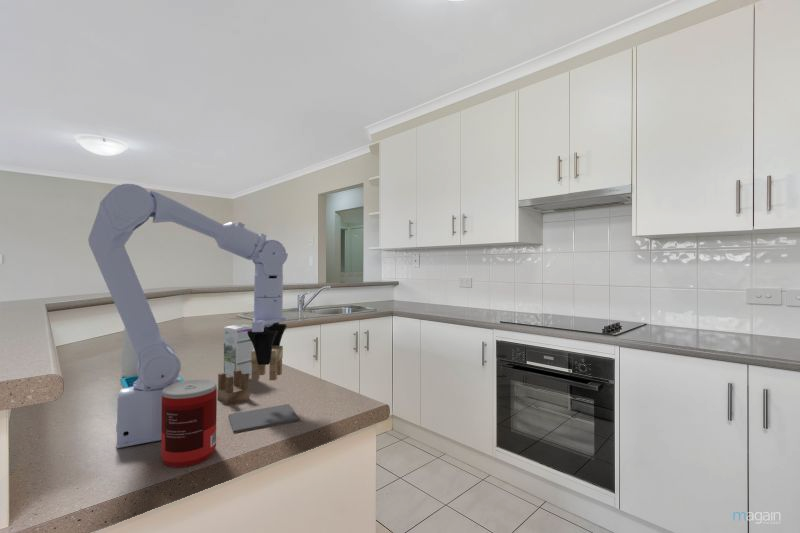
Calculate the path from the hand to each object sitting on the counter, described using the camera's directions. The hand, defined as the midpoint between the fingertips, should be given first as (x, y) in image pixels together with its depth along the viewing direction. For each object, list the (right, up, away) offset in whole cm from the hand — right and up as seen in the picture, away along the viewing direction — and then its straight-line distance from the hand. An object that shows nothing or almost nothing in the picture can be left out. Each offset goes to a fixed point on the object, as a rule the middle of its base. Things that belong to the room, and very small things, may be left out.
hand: (267, 361), depth 80 cm
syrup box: (-15, -11, +22) cm, 29 cm away
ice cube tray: (-30, -11, +10) cm, 34 cm away
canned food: (-6, -10, -20) cm, 23 cm away
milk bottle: (-46, -11, +27) cm, 54 cm away
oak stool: (0, -3, 0) cm, 3 cm away
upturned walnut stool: (-10, -11, +7) cm, 16 cm away
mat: (+1, -10, -4) cm, 11 cm away
